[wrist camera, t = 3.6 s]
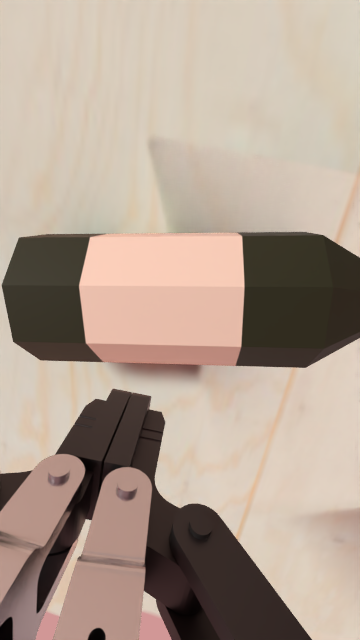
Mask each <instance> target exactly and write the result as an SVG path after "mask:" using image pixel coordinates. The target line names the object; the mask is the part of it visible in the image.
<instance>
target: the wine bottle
mask: <svg viewBox="0 0 360 640" xmlns="http://www.w3.org/2000/svg"><path fill="white" fill-rule="evenodd" d="M2 289H3V294H4V299H5V304H6V309H7V313H8V318H9V323H10V328H11V333H12V338H13V342H14V343H16V344H17V345H19V346H20V347H22V348H23V349H25V350H26V351H28V352H29V353H31V354H32V355H34V356H35V357H37V358H38V359H39V360H49V361H84V362H120V363H156V364H192V365H227V366H263V367H299V368H306V367H308V366H310V365H311V364H313V363H315V362H317V361H319V360H320V359H322V358H324V357H326V356H328V355H329V354H331V353H333V352H335V351H337V350H339V349H340V348H342V347H344V346H346V345H348V344H349V343H351V342H353V341H355V340H357V339H358V338H360V258H359V257H357V256H356V255H354V254H353V253H351V252H349V251H348V250H346V249H345V248H343V247H341V246H340V245H338V244H336V243H335V242H333V241H332V240H330V239H328V238H327V237H325V236H323V235H319V234H313V233H307V232H264V233H150V234H46V235H38V236H29V237H21V238H19V239H18V242H17V245H16V247H15V250H14V253H13V256H12V258H11V261H10V264H9V267H8V269H7V272H6V275H5V278H4V280H3V283H2Z"/></svg>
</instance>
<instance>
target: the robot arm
mask: <svg viewBox="0 0 360 640" xmlns="http://www.w3.org/2000/svg"><path fill="white" fill-rule="evenodd" d="M150 401H151V396H147V395H142V394H137V393H132V392H127V391H122V390H117V389H112V391H111V393H110V395H109V397H108V398H107V400H106V401H104V400H99V399H95V400H94V401H92V402H91V403H89V404H88V405H86V406H85V408H84V409H83V411H82V413H81V414H80V417H78V419H77V421H76V422H75V425H73V427H72V429H71V430H70V432H69V433H68V435H67V436H66V438H65V440H64V441H63V443H62V444H61V446H60V448H59V449H58V451H57V452H56V454H55V455H53V456H50V457H48V458H46V459H44V460H42V461H41V462H40V463H39V464H38V465H37V466H36V467H35V468H34V469H33V470H32V471H27V472H20V473H6V474H0V640H35V639H36V635H37V631H38V629H39V626H40V623H41V620H42V619H43V616H44V614H45V612H46V610H47V608H48V606H49V604H50V601H51V599H52V597H53V595H54V593H55V591H56V589H57V586H58V584H59V582H60V580H61V578H62V576H63V574H64V572H65V569H66V567H67V565H68V563H69V561H70V559H71V557H72V554H73V552H74V550H75V548H76V546H77V542H78V536H79V534H80V532H81V530H82V527H83V524H84V522H85V519H89V520H92V521H91V525H90V528H89V531H88V535H87V538H86V542H85V545H84V549H83V552H82V555H81V557H80V556H79V558H78V560H77V562H76V565H75V568H74V571H73V574H72V577H71V581H70V584H69V587H68V591H67V594H66V597H65V601H64V604H63V607H62V611H61V614H60V617H59V621H58V624H57V627H56V631H55V634H54V637H53V640H139V631H140V622H141V612H142V602H143V592H144V591H145V592H147V593H148V594H150V595H151V596H152V597H154V598H155V599H156V603H157V607H158V610H159V612H160V615H161V617H162V619H163V621H164V623H165V625H166V628H167V630H168V632H169V634H170V636H171V639H172V640H312V639H311V638H310V637H309V635H308V634H307V633H306V631H305V630H304V629H303V627H302V626H301V625H300V623H299V622H298V620H297V619H296V618H295V616H294V615H293V614H292V612H291V611H290V610H289V608H288V607H287V606H286V604H285V603H284V602H283V600H282V599H281V598H280V596H279V595H278V594H277V592H276V591H275V590H274V588H273V587H272V586H271V584H270V583H269V582H268V580H267V579H266V578H265V576H264V575H263V574H262V572H261V571H260V570H259V568H258V567H257V566H256V564H255V563H254V562H253V560H252V559H251V558H250V556H249V555H248V554H247V552H246V551H245V550H244V548H243V547H242V546H241V544H240V543H239V542H238V540H237V539H236V538H235V536H234V535H233V534H232V532H231V531H230V530H229V528H228V527H227V526H226V524H225V523H224V522H223V520H222V519H221V518H220V516H219V515H218V514H217V513H216V512H215V511H214V510H212V509H211V508H209V507H207V506H205V505H201V504H188V505H185V506H184V507H182V508H181V509H180V508H178V507H176V506H174V505H173V504H171V503H169V502H168V501H166V500H165V499H164V498H163V497H162V496H161V495H160V494H159V492H158V490H157V488H156V486H155V480H154V479H155V472H156V467H157V461H158V456H159V451H160V446H161V441H162V436H163V431H164V425H165V420H164V418H163V415H162V412H158V411H153V410H149V407H150Z"/></svg>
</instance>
